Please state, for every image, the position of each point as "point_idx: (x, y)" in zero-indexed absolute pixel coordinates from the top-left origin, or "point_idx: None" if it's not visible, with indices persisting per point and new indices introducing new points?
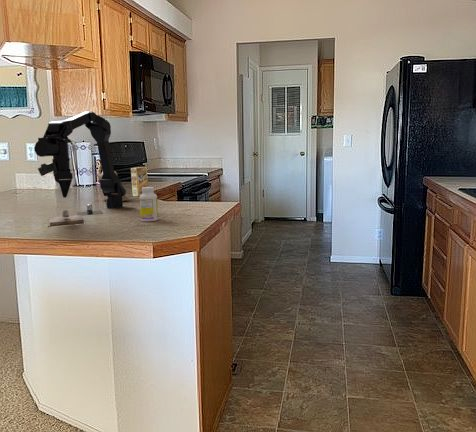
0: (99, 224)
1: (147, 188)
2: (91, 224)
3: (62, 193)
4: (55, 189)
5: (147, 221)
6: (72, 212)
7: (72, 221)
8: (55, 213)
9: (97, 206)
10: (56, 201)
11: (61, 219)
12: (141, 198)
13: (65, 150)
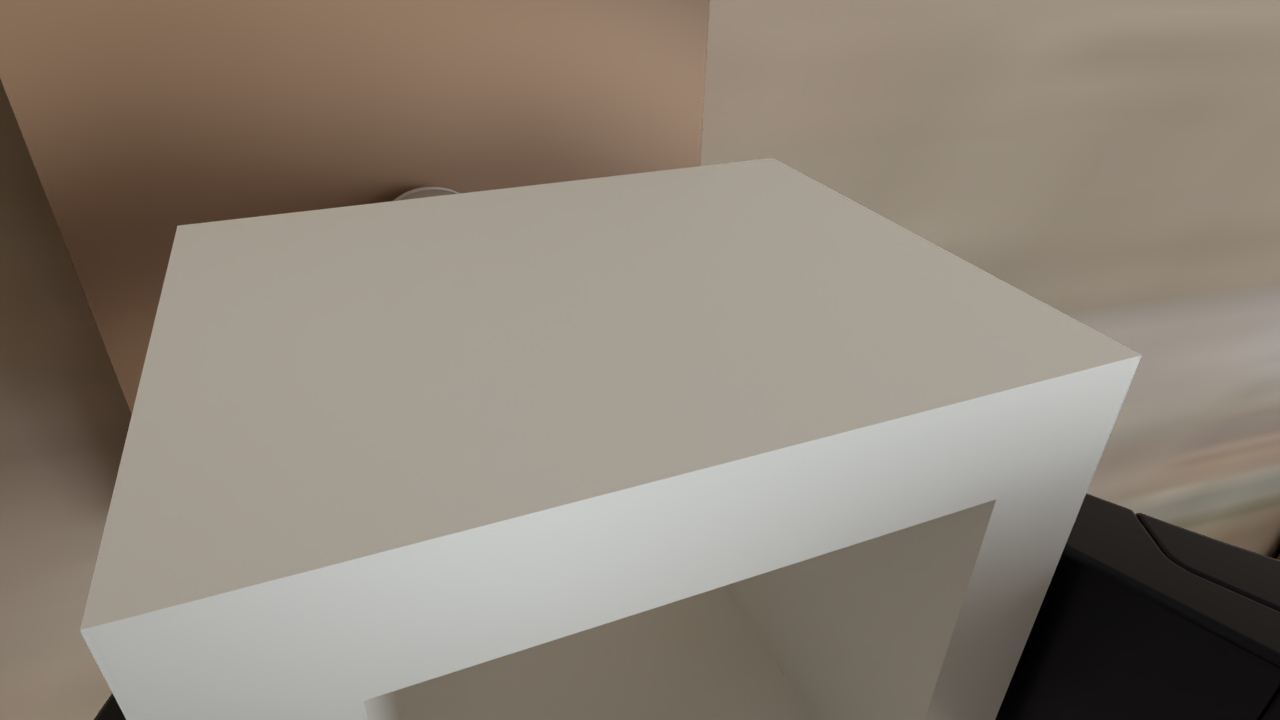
0: (44, 696)
1: None
2: (74, 601)
3: (106, 703)
4: (110, 606)
5: None
6: (1165, 223)
7: (119, 365)
8: (1266, 6)
9: (1262, 424)
10: (187, 250)
11: (354, 152)
12: None
13: None
